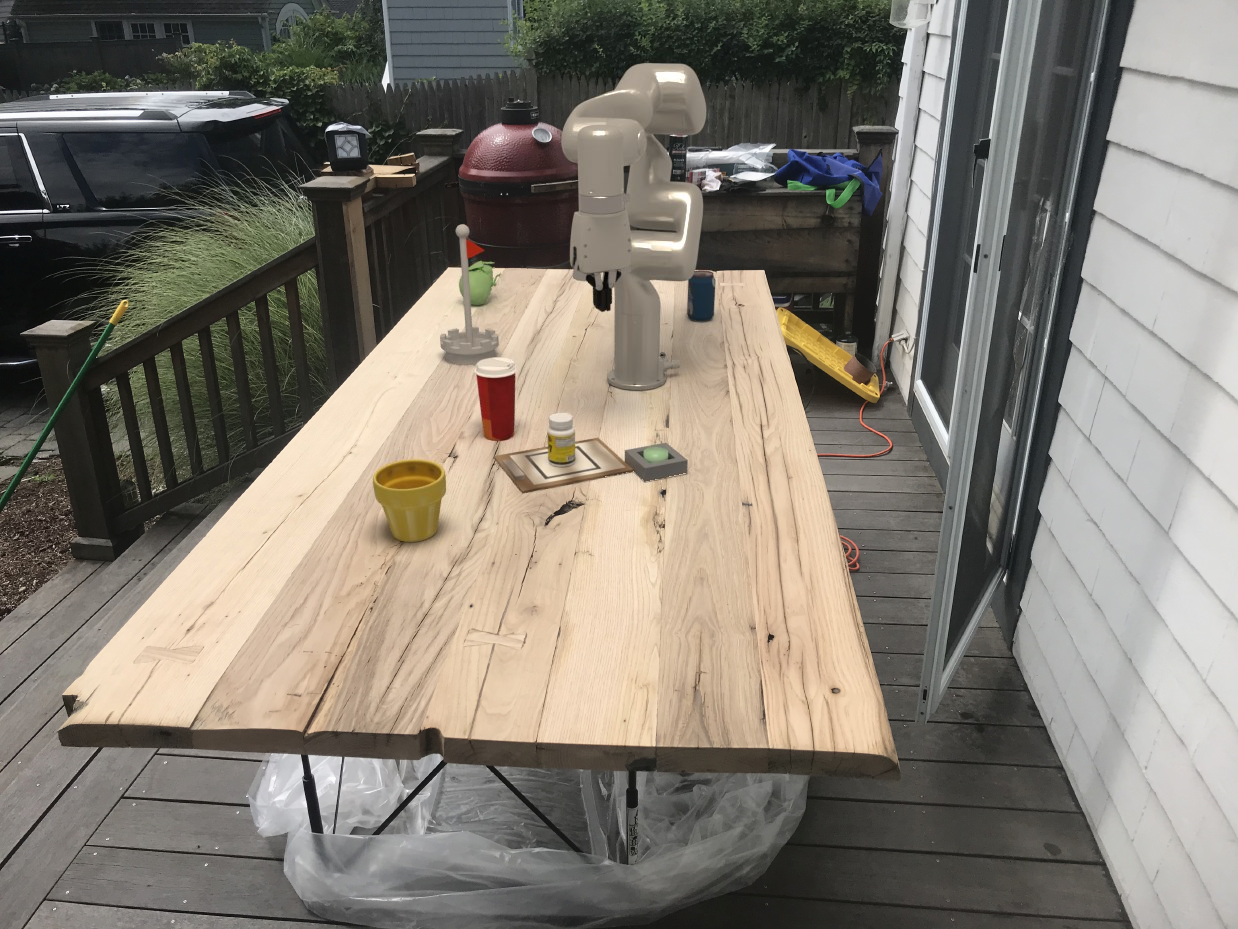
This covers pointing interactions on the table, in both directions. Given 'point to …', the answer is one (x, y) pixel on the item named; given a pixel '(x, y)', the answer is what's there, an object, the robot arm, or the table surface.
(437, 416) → the table surface
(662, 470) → the button housing
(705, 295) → the soda can
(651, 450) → the button
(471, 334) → the flag stand
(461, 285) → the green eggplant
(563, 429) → the supplement bottle
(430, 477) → the plant pot
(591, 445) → the brown bordered board
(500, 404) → the paper cup
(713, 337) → the table surface
